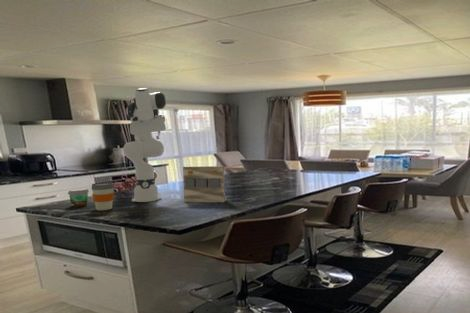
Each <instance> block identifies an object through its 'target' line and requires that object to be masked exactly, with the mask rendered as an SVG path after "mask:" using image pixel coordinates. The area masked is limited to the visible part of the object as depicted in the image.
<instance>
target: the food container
mask: <svg viewBox="0 0 470 313" xmlns="http://www.w3.org/2000/svg"><path fill="white" fill-rule="evenodd" d="M89 192H90V191H89V189H88V188H86V189H84V190H83V189H82V190H81V189H80V190H79V189H78V190H68V192H67V195H68V196H69V200H70V206H71V207H72V206H74V207H73V208H78V207H77V206H80V207H86V206H87V205H88V198H89V196H88V195H89ZM85 205H86V206H85Z"/></svg>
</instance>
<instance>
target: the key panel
mask: <svg viewBox="0 0 470 313" xmlns="http://www.w3.org/2000/svg"><path fill="white" fill-rule="evenodd" d="M182 175H183V176H182V177H183V181H182V182H183V197H184V199H183V200H184V202H186V203H191V202H193V203H225V202H226V201H227V196H226V189H225V187H226V186H225V184H226V183H225V166H224V165H214V166H213V165H210V166H209V165H208V166H207V165H205V166H204V165H203V166H202V165H201V166H195V165H194V166H182ZM187 178H196V187H185V179H187ZM199 178H208V187H197V179H199ZM211 178H220V185H221V187H219V188H210V187H209V179H211Z"/></svg>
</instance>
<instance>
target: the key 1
mask: <svg viewBox="0 0 470 313" xmlns="http://www.w3.org/2000/svg"><path fill="white" fill-rule="evenodd" d="M185 187H196V178H187V179H185Z"/></svg>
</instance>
